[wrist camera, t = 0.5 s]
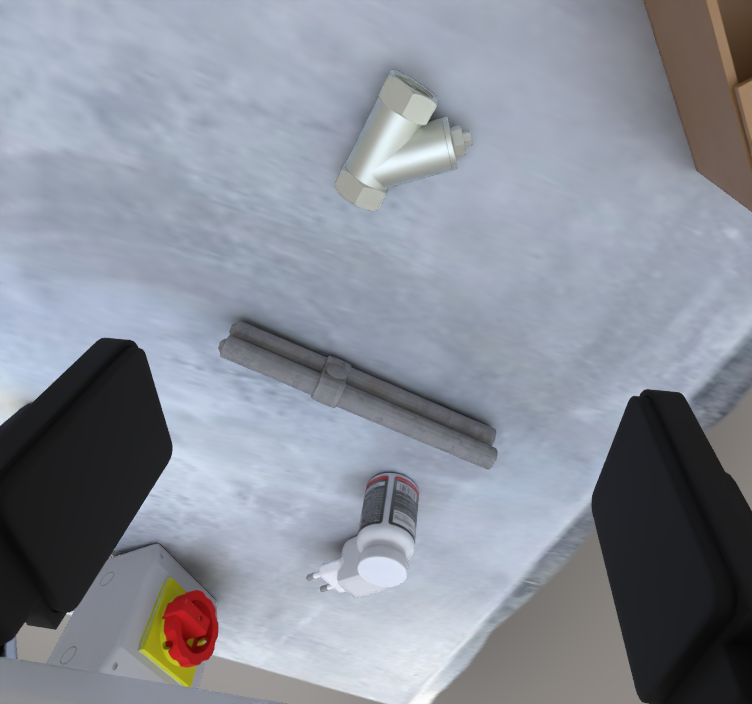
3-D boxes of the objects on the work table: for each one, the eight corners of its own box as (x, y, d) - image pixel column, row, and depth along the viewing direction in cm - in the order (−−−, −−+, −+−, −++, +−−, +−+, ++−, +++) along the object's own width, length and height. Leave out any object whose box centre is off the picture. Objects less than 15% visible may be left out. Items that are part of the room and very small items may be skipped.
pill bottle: (369, 505, 58) (354, 587, 50) (363, 469, 55) (346, 551, 47) (421, 507, 57) (414, 592, 49) (417, 471, 54) (409, 555, 46)
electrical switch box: (254, 584, 75) (217, 745, 58) (169, 609, 78) (110, 769, 61) (197, 520, 68) (135, 682, 51) (106, 550, 71) (19, 712, 54)
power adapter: (332, 569, 66) (322, 614, 61) (307, 548, 64) (295, 592, 59) (403, 545, 61) (397, 592, 56) (378, 522, 59) (371, 568, 55)
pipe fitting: (479, 120, 35) (392, 65, 33) (485, 135, 31) (389, 75, 30) (418, 219, 39) (338, 174, 37) (417, 241, 36) (330, 193, 34)
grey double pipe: (497, 420, 48) (500, 459, 44) (482, 439, 50) (484, 478, 46) (239, 309, 45) (217, 339, 41) (232, 332, 47) (210, 364, 43)
